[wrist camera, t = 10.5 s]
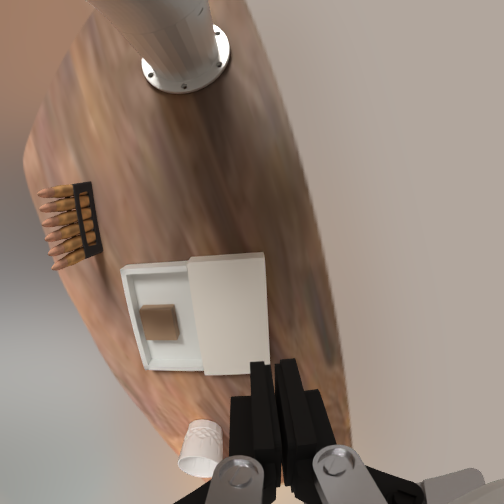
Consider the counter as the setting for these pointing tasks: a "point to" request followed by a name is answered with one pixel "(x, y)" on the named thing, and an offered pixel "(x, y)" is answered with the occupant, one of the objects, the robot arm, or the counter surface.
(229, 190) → the counter surface
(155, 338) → the walnut tile
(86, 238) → the ammunition clip
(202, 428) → the white cup
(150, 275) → the box
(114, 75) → the counter surface
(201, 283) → the platform
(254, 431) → the robot arm
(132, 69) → the counter surface
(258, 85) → the counter surface
